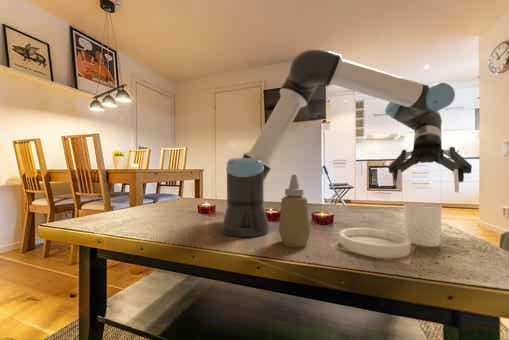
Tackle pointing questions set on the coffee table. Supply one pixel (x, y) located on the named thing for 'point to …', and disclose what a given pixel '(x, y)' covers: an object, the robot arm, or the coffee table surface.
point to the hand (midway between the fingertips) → (425, 188)
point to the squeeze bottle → (294, 216)
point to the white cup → (423, 223)
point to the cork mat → (401, 260)
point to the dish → (375, 243)
